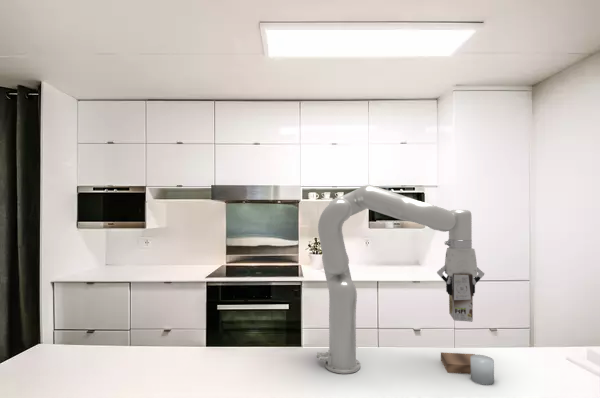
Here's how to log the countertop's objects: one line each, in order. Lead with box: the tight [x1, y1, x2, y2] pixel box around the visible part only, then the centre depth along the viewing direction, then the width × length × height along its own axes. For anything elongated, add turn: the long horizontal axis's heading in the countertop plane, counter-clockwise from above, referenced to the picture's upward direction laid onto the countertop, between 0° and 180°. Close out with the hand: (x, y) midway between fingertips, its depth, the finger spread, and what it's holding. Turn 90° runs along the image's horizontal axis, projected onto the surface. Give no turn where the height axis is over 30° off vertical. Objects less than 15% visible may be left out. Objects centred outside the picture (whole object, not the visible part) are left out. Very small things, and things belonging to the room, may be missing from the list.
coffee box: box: [448, 274, 474, 323], centre depth 134 cm, size 9×6×16 cm
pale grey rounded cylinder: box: [470, 354, 495, 386], centre depth 125 cm, size 7×7×7 cm
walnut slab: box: [440, 351, 476, 375], centre depth 134 cm, size 12×10×3 cm
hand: (460, 294), depth 134 cm, fingers closed on coffee box, 6 cm apart
